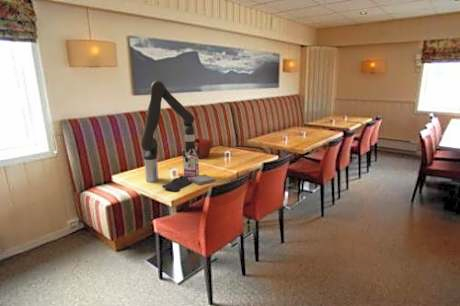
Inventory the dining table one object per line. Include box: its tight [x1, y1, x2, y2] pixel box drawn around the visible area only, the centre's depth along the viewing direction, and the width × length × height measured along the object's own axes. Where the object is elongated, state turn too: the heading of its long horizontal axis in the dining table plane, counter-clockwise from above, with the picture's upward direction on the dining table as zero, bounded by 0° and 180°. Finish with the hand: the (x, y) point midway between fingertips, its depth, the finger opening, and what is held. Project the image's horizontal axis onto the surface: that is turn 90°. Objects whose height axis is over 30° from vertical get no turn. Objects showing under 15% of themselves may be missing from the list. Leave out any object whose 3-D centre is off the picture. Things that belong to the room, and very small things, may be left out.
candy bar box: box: [182, 155, 200, 178], centre depth 229 cm, size 11×5×16 cm, turn 66°
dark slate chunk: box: [162, 175, 194, 192], centre depth 212 cm, size 15×22×5 cm
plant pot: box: [188, 138, 213, 160], centre depth 291 cm, size 19×19×17 cm
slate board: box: [188, 174, 216, 186], centre depth 221 cm, size 14×14×2 cm
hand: (191, 161), depth 228 cm, fingers closed on candy bar box, 7 cm apart
